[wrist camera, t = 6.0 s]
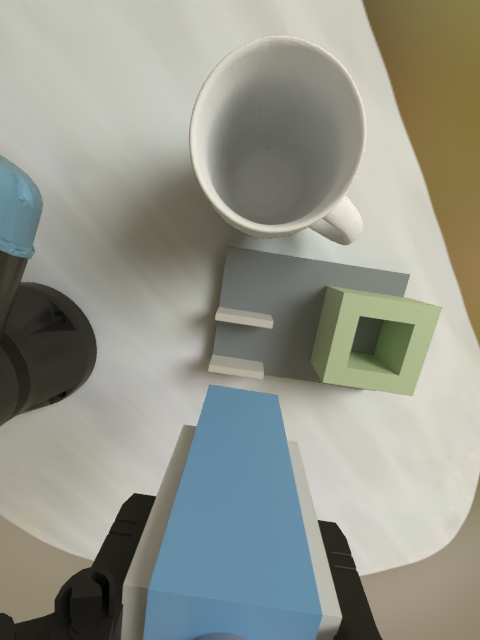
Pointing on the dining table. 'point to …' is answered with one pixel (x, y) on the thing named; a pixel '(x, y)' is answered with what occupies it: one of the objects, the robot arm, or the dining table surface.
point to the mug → (280, 140)
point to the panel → (286, 312)
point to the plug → (235, 533)
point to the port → (392, 347)
